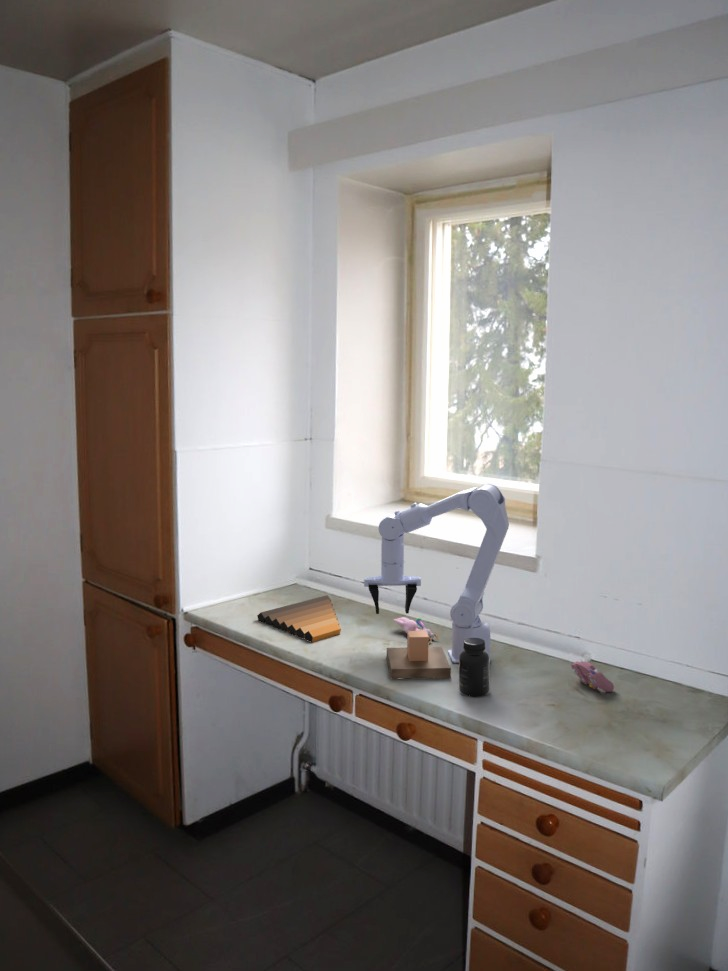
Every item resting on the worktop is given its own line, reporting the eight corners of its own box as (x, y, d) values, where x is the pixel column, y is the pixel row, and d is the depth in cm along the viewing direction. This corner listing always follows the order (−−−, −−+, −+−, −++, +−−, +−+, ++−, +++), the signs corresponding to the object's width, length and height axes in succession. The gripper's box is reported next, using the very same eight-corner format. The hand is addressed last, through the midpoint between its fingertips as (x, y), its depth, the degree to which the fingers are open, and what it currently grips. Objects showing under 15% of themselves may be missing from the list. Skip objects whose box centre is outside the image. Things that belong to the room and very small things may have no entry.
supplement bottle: (479, 683, 188) (480, 634, 186) (494, 695, 182) (496, 644, 180) (453, 688, 186) (454, 637, 184) (467, 699, 179) (468, 648, 177)
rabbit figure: (441, 644, 218) (402, 622, 228) (444, 624, 216) (404, 603, 226) (425, 650, 213) (386, 627, 224) (428, 629, 212) (388, 607, 222)
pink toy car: (575, 684, 191) (565, 661, 189) (590, 674, 193) (580, 650, 190) (601, 701, 182) (591, 677, 180) (617, 690, 184) (607, 665, 181)
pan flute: (323, 604, 250) (257, 622, 233) (323, 593, 249) (257, 610, 232) (380, 623, 232) (313, 644, 215) (380, 612, 231) (312, 632, 214)
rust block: (425, 653, 200) (426, 630, 199) (428, 660, 195) (428, 636, 194) (407, 654, 200) (407, 630, 199) (409, 661, 195) (409, 637, 194)
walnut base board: (441, 656, 205) (441, 646, 205) (450, 678, 191) (450, 667, 191) (386, 657, 204) (386, 647, 204) (391, 679, 191) (391, 669, 190)
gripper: (418, 557, 212) (418, 607, 214) (363, 558, 211) (363, 608, 213) (422, 564, 205) (421, 615, 207) (364, 564, 204) (364, 616, 207)
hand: (392, 612), depth 210 cm, fingers open, 7 cm apart
